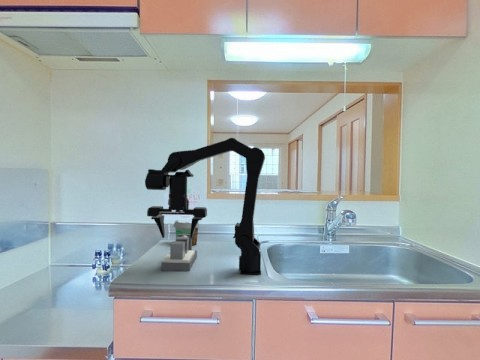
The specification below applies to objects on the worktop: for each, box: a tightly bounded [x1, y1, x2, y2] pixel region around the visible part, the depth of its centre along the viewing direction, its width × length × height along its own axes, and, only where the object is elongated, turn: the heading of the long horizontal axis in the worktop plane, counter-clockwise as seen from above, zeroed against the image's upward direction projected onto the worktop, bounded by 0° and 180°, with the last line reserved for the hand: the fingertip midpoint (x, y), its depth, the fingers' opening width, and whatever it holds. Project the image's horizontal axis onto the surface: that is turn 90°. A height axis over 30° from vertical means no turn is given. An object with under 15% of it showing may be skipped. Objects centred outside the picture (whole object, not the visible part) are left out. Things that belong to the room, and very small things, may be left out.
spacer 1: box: [174, 237, 189, 254], centre depth 114 cm, size 4×4×5 cm
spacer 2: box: [169, 240, 185, 260], centre depth 107 cm, size 4×4×5 cm
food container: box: [173, 219, 200, 247], centre depth 139 cm, size 12×6×10 cm, turn 62°
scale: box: [161, 234, 198, 272], centre depth 112 cm, size 9×17×8 cm, turn 0°
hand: (177, 237), depth 107 cm, fingers open, 9 cm apart
